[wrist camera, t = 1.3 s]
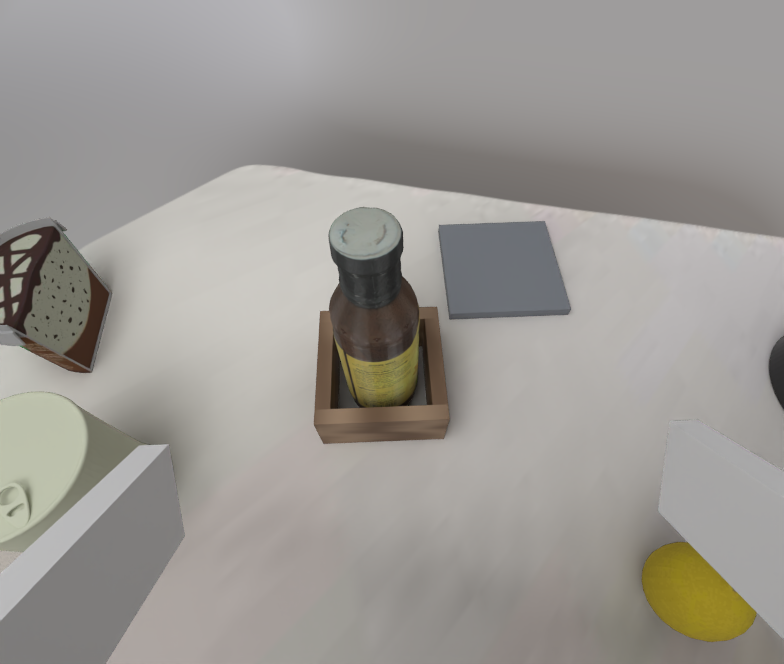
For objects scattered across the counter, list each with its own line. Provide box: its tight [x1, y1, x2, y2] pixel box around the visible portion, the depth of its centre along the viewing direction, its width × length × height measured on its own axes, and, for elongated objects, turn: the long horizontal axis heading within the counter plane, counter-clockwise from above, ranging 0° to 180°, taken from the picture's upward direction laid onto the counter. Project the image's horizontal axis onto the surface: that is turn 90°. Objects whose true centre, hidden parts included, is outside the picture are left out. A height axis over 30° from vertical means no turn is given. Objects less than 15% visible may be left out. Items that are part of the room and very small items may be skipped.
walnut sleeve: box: [314, 307, 450, 444], centre depth 38 cm, size 10×10×5 cm
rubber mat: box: [438, 221, 571, 319], centre depth 46 cm, size 12×12×1 cm
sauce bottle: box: [329, 207, 420, 408], centre depth 32 cm, size 6×6×20 cm
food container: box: [0, 217, 112, 373], centre depth 39 cm, size 12×6×10 cm, turn 7°
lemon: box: [642, 542, 757, 642], centre depth 28 cm, size 6×6×8 cm
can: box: [0, 392, 147, 552], centre depth 30 cm, size 9×9×12 cm
